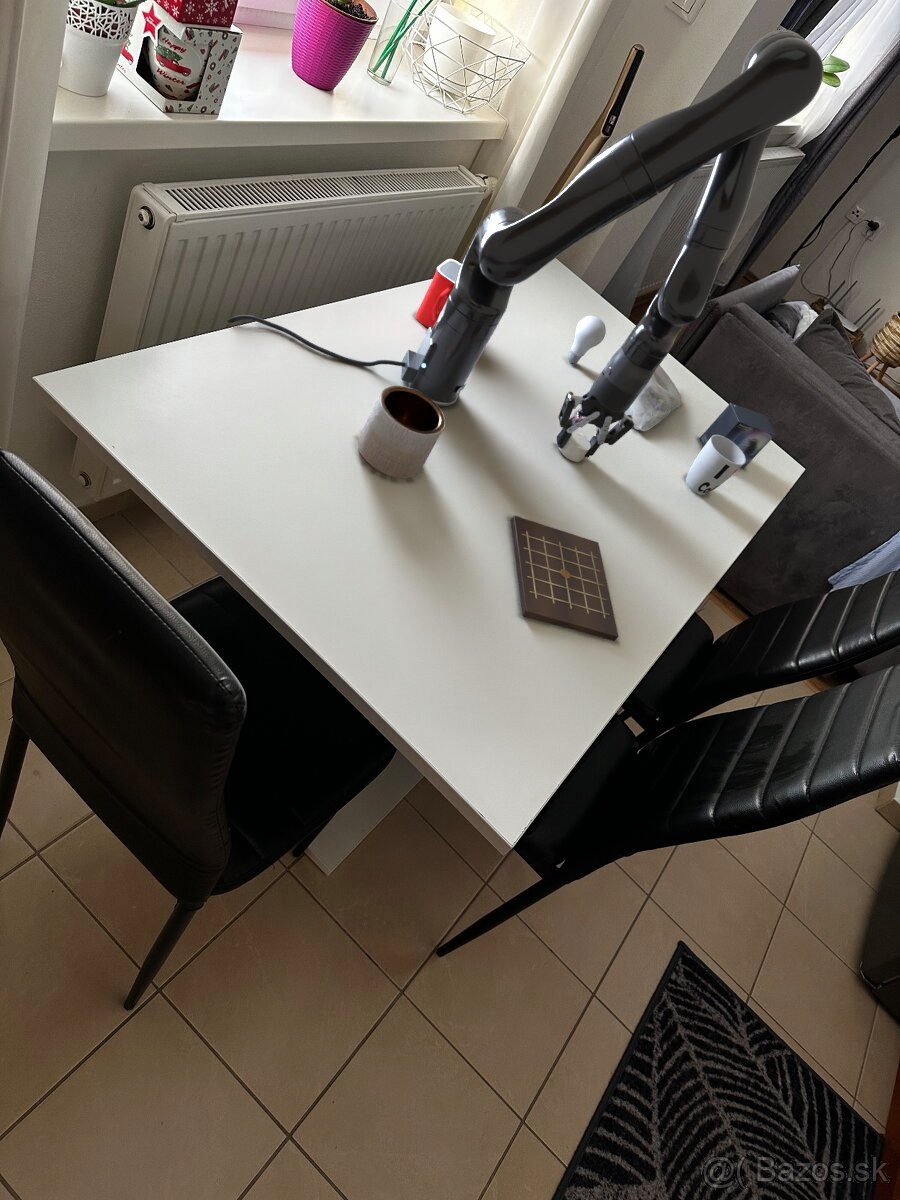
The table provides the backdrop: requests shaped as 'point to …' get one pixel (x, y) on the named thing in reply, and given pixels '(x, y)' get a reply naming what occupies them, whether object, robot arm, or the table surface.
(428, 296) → the mug
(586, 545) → the board
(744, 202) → the robot arm
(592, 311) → the table surface
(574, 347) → the lightbulb
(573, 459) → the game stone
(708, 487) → the cup
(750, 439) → the small box
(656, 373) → the stone
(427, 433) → the planter
